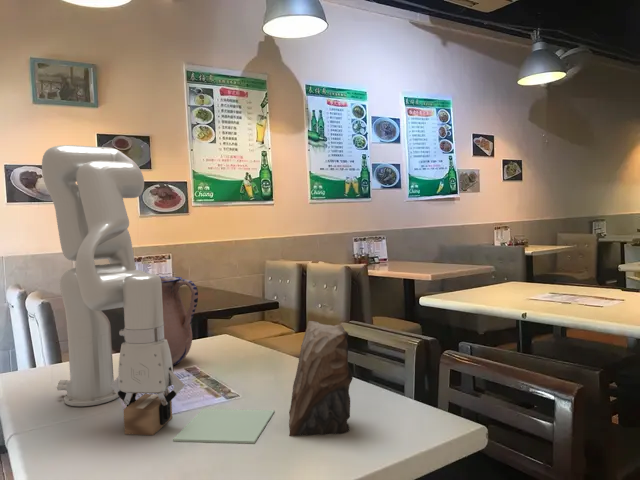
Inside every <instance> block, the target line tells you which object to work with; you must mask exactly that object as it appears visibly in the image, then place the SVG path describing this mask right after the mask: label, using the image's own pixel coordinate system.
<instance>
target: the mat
mask: <svg viewBox="0 0 640 480" xmlns="http://www.w3.org/2000/svg"><path fill="white" fill-rule="evenodd" d="M274 414H275V410H273V409H271V410H270V409H230V408H229V409H226V408H225V409H224V408H223V409H222V408H221V409H218V408H215V409H214V408H203V409H202V410H200V412H198V413H197V414H196V415H195V416H194V417H193V418H192V419H191V421H190V422H188V423H187V424H186V425H185V426H184V427H183V428H182V429H181V431H179V432H178V433H177V434H176V436H175V437H173V438H172V442H181V443H182V442H183V443H184V442H187V443H190V442H191V443H217V444H218V443H219V444H220V443H221V444H222V443H223V444H225V443H227V444H229V443H230V444H256V442H257V440H259V438H260V436H261V435H262V433H263V431H264V429H265V428H266V427H267V425H268V423H269V422H270V420H271V419H272V417H273V416H274Z"/></svg>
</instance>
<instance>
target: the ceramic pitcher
mask: <svg viewBox="0 0 640 480" xmlns="http://www.w3.org/2000/svg"><path fill="white" fill-rule="evenodd" d="M159 277H160V279H161V283H162V303H163V323H164V339H165V340H167V342H168V345H169V349H170V353H171V358H172V365H173V366H175V365H178V364H180V362H182V361H183V360H184V359H185V358H186V356H187V355H188V354H189V352H190V350H191V347H192V344H193V331H192V326H191V325H192V320H193V318H194V315H195V313H196V312H195V311H196V310H197V305H198V301H199V290H198V287H197V286H196V284H195V283H194V282H193V281H192V280H190V279H186V278H185V279H183V277H181V276H159ZM185 285H186V286H187V287H188V288H189V290H190V291H191V294H190V295H191V297H190V298H191V299H190V304H189V307H188V308H187V309H188V311H187V310H186V307H185V305H184V303H183V300H182V297H181V295H180V292H179V290H180V288H181V287H182V286H185Z"/></svg>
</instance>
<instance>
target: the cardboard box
mask: <svg viewBox="0 0 640 480" xmlns="http://www.w3.org/2000/svg"><path fill="white" fill-rule="evenodd" d="M172 402H173V400H171V401H170V411H171V416H170V419H169V420H168V421H167V422H166V423H165V424H164V425H161V424H160V414H159V406H160V405H161V401H160V399H159V397H158V394H157V393H156V394H150V393H143V394H142V395H140V397H138V398H137V399H136V401H134V402H133V403H131V404H130V405H129V406H127V405H126V407H125V408H123V410H122V411H123V426H124V427H123V429H124V435H138V436H139V435H141V436H143V435H144V436H145V435H146V436H155V434H156V433H157V432H159V431H160V430H161V429H162V427H164V426H165V425H166V424H167V423H168V422H169V421H171V420H172V418H173V406H172Z"/></svg>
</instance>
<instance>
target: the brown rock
mask: <svg viewBox="0 0 640 480" xmlns="http://www.w3.org/2000/svg"><path fill="white" fill-rule="evenodd" d="M348 338H349V333H348V332H347V330H345V328H344V327H343V325H341V324H335V325H332V324H325V323H320V322H318V321H314V320H308V321H307V324H306V329H305V333H304V336H303V339H302V342H301V346H300V352H299V356H298V357H299V358H298V363H297V366H296V367H297V368H296V373H295V378H294V380H293V385H292V394H291V401H290V408H289V410H288V411H289V414H288V415H289V419H288V420H289V422H288V429H289V433H288V435H289V437H295V436H296V437H299V436H314V435H315V436H317V435H318V436H320V435H321V436H325V435H341V434H346V433H348V432H350V426H349V423H348V420H349V419H350V418H351V396H350V391H349V390H350V385H351V383H352V381H353V379H354V378H353V377H354V376H353V373H352V369H351V368H350V367H349V359H348V358H349V356H348V355H349V344H348Z"/></svg>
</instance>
